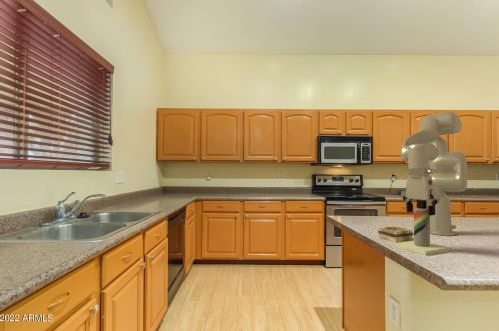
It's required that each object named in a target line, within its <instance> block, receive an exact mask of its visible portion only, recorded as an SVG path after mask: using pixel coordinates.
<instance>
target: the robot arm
mask: <svg viewBox="0 0 499 331" xmlns="http://www.w3.org/2000/svg"><path fill="white" fill-rule="evenodd" d="M462 126H463V124H462V121H461V118H460V117H459V116H458V114H456V113H455V112H452V111H447V112H445V111H444V112H439V113H432V114H428V115H426V116H424V117H423V118H422V120H421V122H420V126H419V129H418V131H416V132H415V133H413V134H411V135H410V136H408V137H407V138H405V140H403V143H402V145H401V148H400V158H401V160H402V161H404V162H407V164H408V165H407V168H408V176H407V179H406V184H405V190H403V191H401V192H400V195H401V198H402V200H403V201H404V203H405V205H406V208H405V209H406V213H414V202H413V201H414V200H426V201H427V209H428V215H429V216H430V235H431V234H432V235H434V236H435V235H437V236H455V235H456V231H453V230H454V229H457V225H456V224H452V213H451V212H452V208H451V206H452V204H451V198H450V197H449V196H448V195H447V193H445V192H454V193H456V192H457V193H459V192H460V193H461V192H465V191H466V190H467V189H468V164H467V157H466V155H465V153H463V152H461V151H450V152H449V143H448V142H447V140H446V139H445V138H443V137H442V136H443V135H456V134H458V133H460V132H461V130H462ZM430 169H431V170H430ZM433 171H440V172H435V173H432V172H433ZM441 171H444V172H441ZM445 171H450V172H445ZM451 171H453V172H451Z"/></svg>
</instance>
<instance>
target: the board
mask: <svg viewBox="0 0 499 331" xmlns="http://www.w3.org/2000/svg"><path fill="white" fill-rule="evenodd" d="M394 247H395V248H399V249H402V250H405V251H409V252H412V253H413V252H414V253H416V254H419V255H423V256H429V255H430V256H431V255H436V254H442V253H443V254H444V253H448V252H449V253H450V252H451V248H450V247H449V246H445V245H442V244H441V245H440V244H436V243H431V242H430V246H428V247H423V246H417V245H415V244H414V240H411V241H404V242H394Z"/></svg>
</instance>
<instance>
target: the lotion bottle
mask: <svg viewBox="0 0 499 331" xmlns="http://www.w3.org/2000/svg"><path fill="white" fill-rule="evenodd" d="M415 202H416V207H413V241H414V244H415V245H417V246H423V247H428V246H430V243H431V234H430V216H429V215H428V203H427V201H426V200H416V201H415Z"/></svg>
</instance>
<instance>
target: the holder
mask: <svg viewBox="0 0 499 331" xmlns="http://www.w3.org/2000/svg"><path fill="white" fill-rule="evenodd" d="M377 233H378V238H379V239H382V240H386V241H389V242H392V243H393V242H394V243H399V242H407V241H413V236H414V232H413V229H409V228H406V227H400V226H384V227H383V226H381V227H378V230H377Z"/></svg>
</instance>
